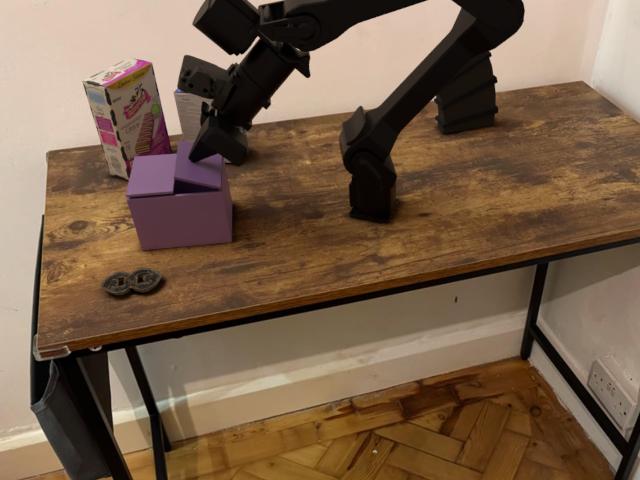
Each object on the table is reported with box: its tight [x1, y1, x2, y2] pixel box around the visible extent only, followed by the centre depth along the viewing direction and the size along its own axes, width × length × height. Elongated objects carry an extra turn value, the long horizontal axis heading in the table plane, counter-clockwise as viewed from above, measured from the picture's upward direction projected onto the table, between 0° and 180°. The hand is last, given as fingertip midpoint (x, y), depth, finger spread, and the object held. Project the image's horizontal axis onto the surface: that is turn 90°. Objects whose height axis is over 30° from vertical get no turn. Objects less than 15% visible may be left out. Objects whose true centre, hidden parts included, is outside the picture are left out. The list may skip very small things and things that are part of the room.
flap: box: [173, 139, 222, 189], centre depth 95 cm, size 6×11×1 cm, turn 9°
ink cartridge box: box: [173, 87, 250, 164], centre depth 113 cm, size 10×6×14 cm, turn 78°
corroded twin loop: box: [100, 267, 163, 296], centre depth 91 cm, size 5×8×1 cm, turn 105°
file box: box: [125, 153, 233, 251], centre depth 99 cm, size 13×11×9 cm
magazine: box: [433, 51, 499, 134], centre depth 122 cm, size 4×13×15 cm, turn 111°
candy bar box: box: [81, 57, 173, 182], centre depth 110 cm, size 11×5×16 cm, turn 155°
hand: (191, 159), depth 95 cm, fingers closed, pressing on flap
